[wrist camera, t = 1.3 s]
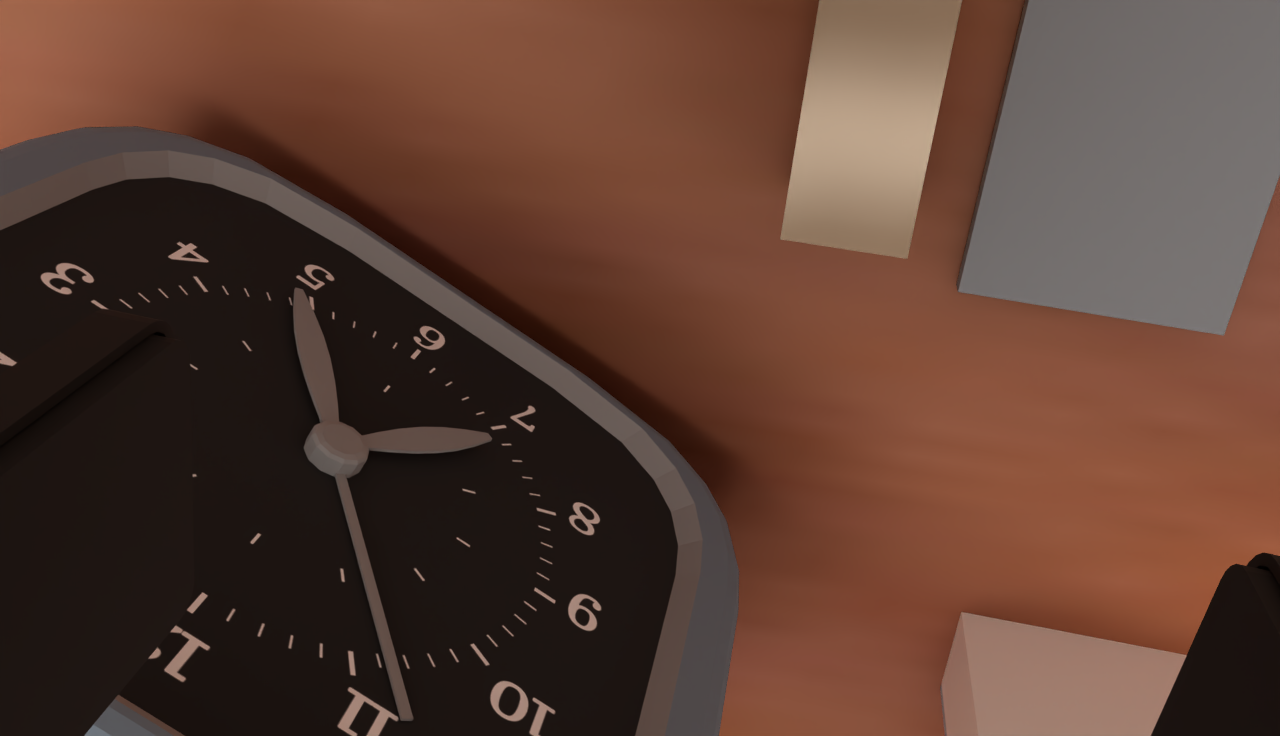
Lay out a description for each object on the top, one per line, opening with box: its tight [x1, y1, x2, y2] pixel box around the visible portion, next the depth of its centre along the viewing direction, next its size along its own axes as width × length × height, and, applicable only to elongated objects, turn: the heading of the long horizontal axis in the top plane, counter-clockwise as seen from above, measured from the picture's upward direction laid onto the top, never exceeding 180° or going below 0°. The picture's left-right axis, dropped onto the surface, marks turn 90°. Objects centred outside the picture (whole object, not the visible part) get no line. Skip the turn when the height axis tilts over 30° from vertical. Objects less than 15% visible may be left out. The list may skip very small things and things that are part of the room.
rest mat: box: [956, 0, 1280, 335], centre depth 29 cm, size 16×7×1 cm, turn 173°
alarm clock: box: [0, 126, 739, 736], centre depth 27 cm, size 21×10×22 cm, turn 56°
